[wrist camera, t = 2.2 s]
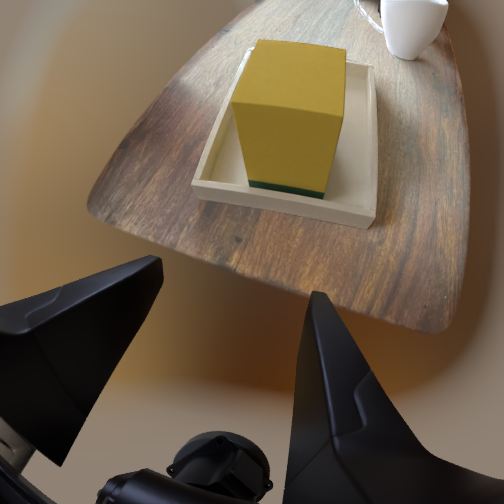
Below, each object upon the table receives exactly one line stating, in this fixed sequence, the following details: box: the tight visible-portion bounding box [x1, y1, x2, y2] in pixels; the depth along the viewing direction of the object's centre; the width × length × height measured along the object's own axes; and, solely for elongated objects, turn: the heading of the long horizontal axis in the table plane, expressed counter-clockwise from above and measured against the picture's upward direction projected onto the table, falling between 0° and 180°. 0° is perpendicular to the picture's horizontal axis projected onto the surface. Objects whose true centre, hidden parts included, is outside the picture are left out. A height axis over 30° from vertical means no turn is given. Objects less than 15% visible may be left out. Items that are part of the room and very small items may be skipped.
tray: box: [191, 48, 378, 230], centre depth 24 cm, size 19×14×2 cm
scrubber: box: [231, 39, 346, 200], centre depth 19 cm, size 7×6×10 cm
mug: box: [354, 0, 448, 60], centre depth 23 cm, size 12×8×11 cm
